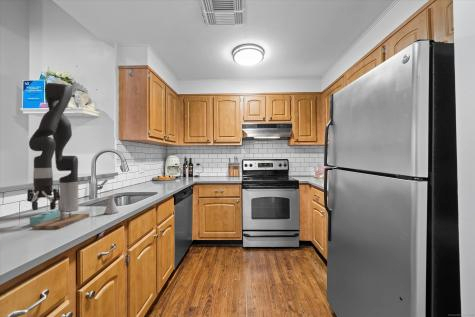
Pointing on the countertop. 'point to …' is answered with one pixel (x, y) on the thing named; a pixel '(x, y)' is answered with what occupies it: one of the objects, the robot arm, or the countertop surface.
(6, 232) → the countertop surface
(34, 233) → the countertop surface
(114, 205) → the flask
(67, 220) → the jig
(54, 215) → the teal slotted block
